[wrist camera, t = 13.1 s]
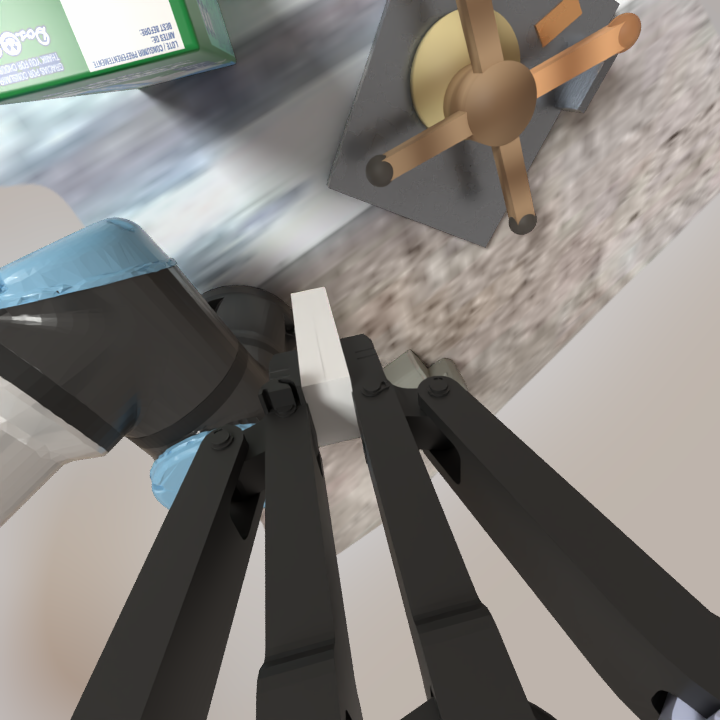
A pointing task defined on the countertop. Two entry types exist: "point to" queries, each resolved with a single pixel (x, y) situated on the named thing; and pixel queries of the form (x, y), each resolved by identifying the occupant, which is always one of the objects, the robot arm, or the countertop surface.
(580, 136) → the countertop surface
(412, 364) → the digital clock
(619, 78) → the countertop surface
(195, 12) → the milk carton
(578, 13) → the stand
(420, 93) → the capstan
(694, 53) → the countertop surface
